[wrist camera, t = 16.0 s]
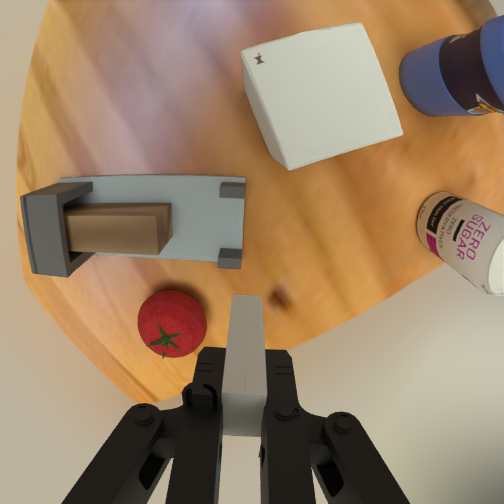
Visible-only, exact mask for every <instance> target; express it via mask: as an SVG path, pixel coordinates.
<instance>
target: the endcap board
mask: <svg viewBox="0 0 504 504" xmlns="http://www.w3.org/2000/svg"><path fill="white" fill-rule="evenodd" d="M245 182H246V177H240V176H215V175H107V176H84V177H67V178H60V179H58V183H56V184H53V185H50V186H47V187H44V188H41V189H39V190H36V191H33V192H30V193H27V194H25V195H22V196H20V201H21V210H22V218H23V225H24V232H25V238H26V244H27V249H28V255H29V260H30V265H31V269H32V273H34V274H42V275H50V276H58V277H67V278H68V277H69V276H70V275H71V274H72V273H73V272H74V271H75V270H76V269H77V268H78V267H80V266H81V265H82V264H83V263H84V262H85V261H87V260H88V259H89V258H90V257H91V256H92V255H94V254H99V255H114V256H130V257H146V258H162V259H179V260H196V261H214V262H218V268H227V269H241V261H242V241H243V221H244V201H245ZM81 203H172V232H173V237H172V238H171V239H170V240H169V242H168V243H167V244H166V246H165V247H164V248H163V250H162V251H161V252H160V254H159V255H140V254H118V253H98V252H77V251H68V247H67V240H66V233H65V225H64V216H63V207H64V206H67V205H69V204H81Z"/></svg>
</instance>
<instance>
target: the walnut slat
mask: <svg viewBox="0 0 504 504" xmlns="http://www.w3.org/2000/svg"><path fill="white" fill-rule="evenodd" d="M63 216H64V225H65V233H66V240H67V247H68V251H77V252H98V253H118V254H140V255H159V254H160V252H161V251H162V250H163V248H164V247H165V246H166V244H167V243H168V242H169V240H170V239H171V238H172V237H173V232H172V203H81V204H69V205H67V206H64V207H63Z"/></svg>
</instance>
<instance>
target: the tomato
mask: <svg viewBox="0 0 504 504" xmlns="http://www.w3.org/2000/svg"><path fill="white" fill-rule="evenodd" d="M138 330H139V333H140V336H141V338H142V340H143V341H144V343H145V344H146V346H148V347H149V348H150V349H151V350H152V351H154V352H155V353H157V354H159V355H161V356H163V358H164V356H165V357H171V358H176V357H183V356H185V355H188V354H190V353H192V352H193V351H194V350H196V349H197V348H198V346H199V345H200V344H201V343H202V341H203V339H204V337H205V334H206V330H207V323H206V318H205V314H204V312H203V310H202V308H201V306H200V305H199V304H198V302H197V301H195V300H194V299H193V298H192V297H190V296H189V295H187V294H185V293H182V292H179V291H175V290H164V291H160V292H157V293H155V294H153V295H152V296H150V297H149V298H148V299H147V300H146V301H145V302H144V303H143V304H142V306H141V308H140V310H139V314H138Z"/></svg>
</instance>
